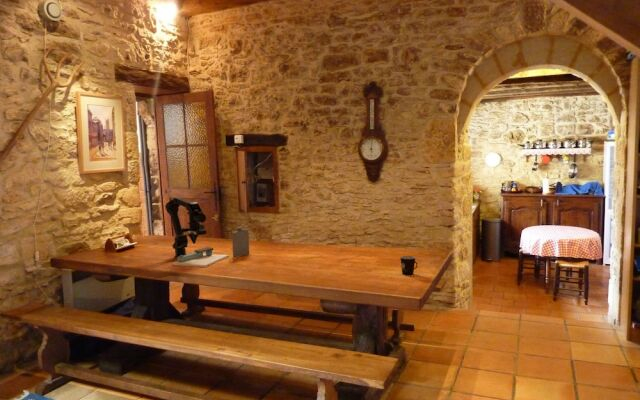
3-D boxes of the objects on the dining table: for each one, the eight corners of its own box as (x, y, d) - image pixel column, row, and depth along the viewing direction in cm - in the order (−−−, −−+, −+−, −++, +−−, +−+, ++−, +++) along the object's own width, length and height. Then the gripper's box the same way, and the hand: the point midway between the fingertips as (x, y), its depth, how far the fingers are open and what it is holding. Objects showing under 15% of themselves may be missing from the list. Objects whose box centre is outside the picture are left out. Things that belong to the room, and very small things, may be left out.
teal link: (181, 262, 319) (181, 256, 319) (176, 261, 321) (176, 255, 321) (203, 256, 336) (203, 250, 336) (199, 255, 338) (199, 249, 338)
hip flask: (235, 257, 336) (234, 229, 334) (231, 257, 338) (230, 228, 336) (250, 253, 350) (249, 225, 348) (245, 252, 352) (244, 225, 350)
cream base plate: (172, 265, 318) (172, 263, 318) (198, 255, 347) (198, 253, 347) (205, 267, 311) (205, 265, 310) (228, 256, 340) (228, 255, 340)
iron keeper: (200, 258, 331) (200, 251, 331) (194, 257, 335) (194, 250, 334) (213, 255, 340) (213, 248, 340) (207, 254, 344) (207, 247, 343)
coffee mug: (398, 272, 289) (398, 256, 288) (413, 272, 289) (413, 255, 288) (403, 277, 277) (403, 260, 276) (418, 277, 278) (418, 259, 277)
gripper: (212, 220, 331) (212, 243, 333) (192, 218, 341) (193, 240, 343) (200, 222, 322) (200, 246, 324) (180, 220, 332) (181, 242, 334)
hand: (194, 243), depth 331 cm, fingers closed
